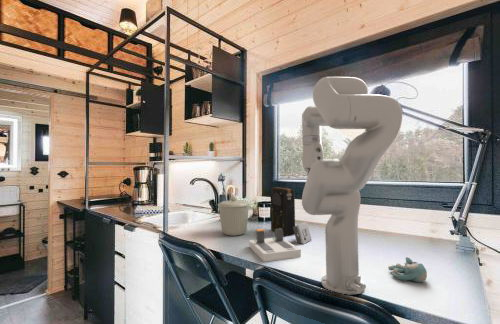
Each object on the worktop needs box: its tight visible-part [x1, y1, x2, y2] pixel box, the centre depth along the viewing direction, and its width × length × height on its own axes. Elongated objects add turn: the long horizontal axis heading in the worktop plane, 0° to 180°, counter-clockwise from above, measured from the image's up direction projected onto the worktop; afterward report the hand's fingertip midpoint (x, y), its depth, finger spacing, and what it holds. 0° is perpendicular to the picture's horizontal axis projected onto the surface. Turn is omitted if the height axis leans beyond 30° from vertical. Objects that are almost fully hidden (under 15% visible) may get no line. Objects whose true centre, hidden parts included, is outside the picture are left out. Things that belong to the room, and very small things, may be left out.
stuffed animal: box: [387, 256, 428, 283], centre depth 86 cm, size 11×7×12 cm
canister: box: [217, 195, 251, 237], centre depth 145 cm, size 18×18×21 cm
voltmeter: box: [269, 186, 296, 237], centre depth 145 cm, size 16×9×25 cm, turn 25°
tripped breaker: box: [256, 228, 265, 243], centre depth 116 cm, size 2×3×6 cm, turn 107°
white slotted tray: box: [248, 237, 302, 263], centre depth 114 cm, size 20×16×3 cm
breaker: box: [274, 228, 284, 241], centre depth 119 cm, size 2×3×5 cm, turn 107°
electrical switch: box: [293, 221, 312, 245], centre depth 128 cm, size 9×5×9 cm, turn 141°
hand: (312, 185), depth 106 cm, fingers closed
